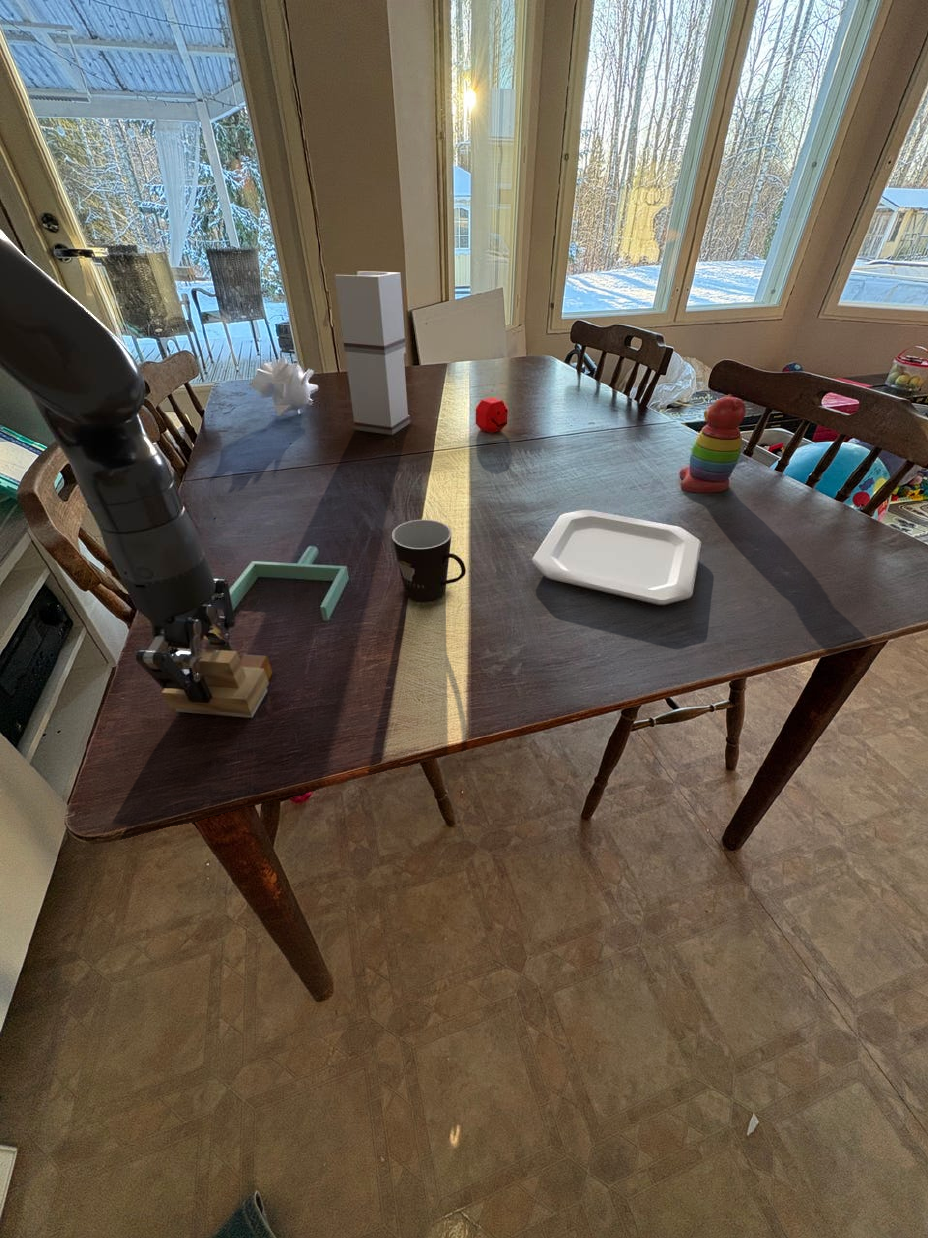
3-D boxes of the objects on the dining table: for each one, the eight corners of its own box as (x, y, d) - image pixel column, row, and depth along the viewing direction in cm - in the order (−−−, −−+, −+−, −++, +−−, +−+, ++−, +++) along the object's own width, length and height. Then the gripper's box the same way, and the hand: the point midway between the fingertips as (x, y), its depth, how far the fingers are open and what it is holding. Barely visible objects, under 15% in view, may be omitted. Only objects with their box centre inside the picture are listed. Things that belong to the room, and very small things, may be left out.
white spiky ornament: (310, 373, 136) (263, 333, 133) (278, 426, 142) (233, 389, 140) (336, 376, 154) (295, 341, 152) (306, 423, 160) (267, 390, 158)
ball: (490, 436, 134) (491, 406, 129) (470, 429, 138) (470, 399, 134) (512, 430, 138) (513, 400, 133) (491, 422, 143) (492, 394, 138)
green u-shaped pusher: (328, 621, 74) (325, 607, 72) (225, 614, 75) (220, 600, 74) (358, 559, 87) (356, 546, 85) (270, 554, 88) (267, 542, 87)
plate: (523, 581, 82) (524, 569, 80) (564, 515, 99) (566, 504, 98) (686, 620, 74) (690, 608, 72) (700, 541, 91) (703, 530, 90)
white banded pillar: (410, 422, 143) (400, 272, 121) (392, 434, 135) (377, 276, 114) (375, 418, 146) (358, 270, 125) (355, 429, 139) (334, 274, 117)
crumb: (262, 690, 63) (256, 672, 61) (239, 688, 64) (232, 670, 62) (272, 673, 66) (266, 655, 64) (250, 671, 66) (243, 654, 64)
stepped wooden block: (271, 689, 63) (255, 643, 58) (253, 720, 59) (235, 674, 54) (194, 682, 64) (172, 637, 59) (172, 713, 60) (147, 667, 55)
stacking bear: (678, 471, 116) (700, 387, 105) (726, 476, 113) (754, 391, 102) (680, 491, 108) (704, 402, 96) (731, 496, 105) (763, 407, 94)
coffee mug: (390, 582, 81) (383, 526, 75) (440, 570, 84) (437, 515, 78) (416, 624, 73) (411, 565, 67) (470, 608, 76) (470, 550, 70)
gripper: (165, 520, 55) (214, 640, 65) (71, 599, 44) (148, 728, 54) (232, 524, 54) (270, 644, 65) (153, 604, 43) (215, 734, 54)
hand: (214, 682), depth 59 cm, fingers closed on stepped wooden block, 5 cm apart
